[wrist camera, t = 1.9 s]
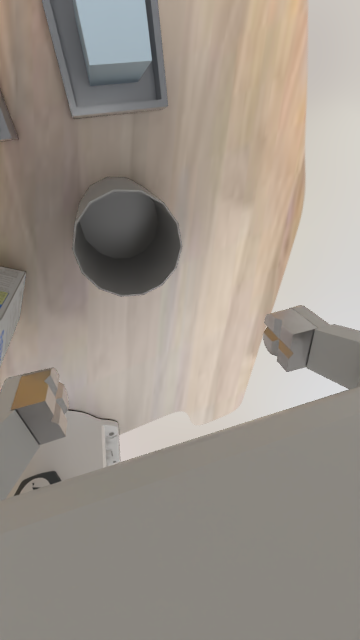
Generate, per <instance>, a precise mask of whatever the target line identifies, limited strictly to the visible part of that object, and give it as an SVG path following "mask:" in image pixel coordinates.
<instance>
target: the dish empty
mask: <svg viewBox="0 0 360 640" xmlns="http://www.w3.org/2000/svg"><path fill="white" fill-rule="evenodd" d="M9 140H18V136H17V133H16V131H15V128H14V125H13V122H12V120H11V117H10V114H9V111H8V109H7V106H6V103H5V100H4V98H3V95H2V92H1V89H0V141H9Z"/></svg>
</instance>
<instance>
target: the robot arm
mask: <svg viewBox="0 0 360 640" xmlns="http://www.w3.org/2000/svg"><path fill="white" fill-rule="evenodd" d="M264 323H265V325H266V326H267V328H266V330H265V331H264V334H263V340H264V344H265V346H266V348H267V350H268V351H269V352H270V353H271V354H272V355H275V356H277V362H278V363H279V364H280V365H281V366H282V367H283V368H284V369H285V370H286V372H289V371H293V370H296V369H300V368H304V367H307V368H308V369H310V370H312V371H314V372H316V373H318V374H320V375H322V376H324V377H326V378H328V379H330V380H332V381H334V382H336V383H338V384H340V385H342V386H344V387H346V388H348V389H349V390H346V391H343V392H340V393H337V394H334V395H330V396H327V397H324V398H321V399H318V400H315V401H312V402H308V403H305V404H302V405H299V406H296V407H293V408H290V409H286V410H283V411H280V412H277V413H274V414H271V415H268V416H264V417H261V418H258V419H255V420H252V421H249V422H245V423H243V424H239V425H236V426H233V427H230V428H227V429H223V430H220V431H217V432H215V433H211V434H208V435H205V436H201V437H198V438H195V439H192V440H189V441H186V442H183V443H180V444H176V445H173V446H170V447H167V448H164V449H161V450H158V451H155V452H151V453H148V454H145V455H142V456H139V457H136V458H132V459H129V460H127V461H123V462H120V447H119V446H120V445H119V426H118V423H117V422H116V421H112V420H102V419H98V418H95V417H93V416H91V415H88V414H85V413H82V412H76V411H68V407H69V401H68V394H67V391H66V388H65V386H64V384H62V383H60V382H59V374H58V372H57V370H56V369H55V368H49V369H44V370H40V371H35V372H31V373H27V374H23V375H18V376H14V377H10V378H8V379H6V380H5V382H4V384H3V387H2V389H1V392H0V640H360V331H358V330H354V329H350V328H347V327H343V326H339V325H335V324H333V325H330V324H328V323H327V322H326V321H324V320H322V319H321V318H320V317H319V316H317V315H316V314H315V313H313V312H312V311H310V310H309V309H308V308H306V307H305V306H302V305H299V306H296V307H293V308H289V309H286V310H283V311H278V312H274V313H270V314H267V315H266V317H265V322H264Z"/></svg>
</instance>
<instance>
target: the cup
mask: <svg viewBox="0 0 360 640" xmlns="http://www.w3.org/2000/svg"><path fill="white" fill-rule="evenodd" d="M181 249H182V242H181V236H180V230H179V224H178V222H177V221H176V219H175V218H174V216H173V215H172V214H171V212H170V211H169V209H168V208H167V206H166V205H165V204H164V202H162V201H161V200H160V199H158V198H157V197H156V196H154V195H153V194H152V193H150V192H149V191H148V190H147V189H145V188H144V187H142V186H141V185H139V184H137V183H135V182H133V181H132V180H130V179H128V178H123V177H106V178H104V179H102V180H100V181H98V182H96V183H94V184H93V185H91V186H90V187H89V188H88V190H87V191H86V193H85V194H84V196H83V198H82V199H81V201H80V203H79V207H78V212H77V216H76V220H75V224H74V236H73V248H72V250H73V253H74V255H75V258H76V260H77V263H78V265H79V268H80V270H81V272H82V274H83V275H84V276H86V277H87V278H88V279H89V280H90V281H91V282H92V283H93V284H94V285H95V286H96V287H98V288H99V289H100V290H103V291H106V292H109V293H112V294H115V295H118V296H121V297H122V296H135V295H144V294H146V293H148V292H150V291H152V290H154V289H156V288H158V287H160V286H162V285H163V284H164V283H165V281H166V280H167V279H168V278H169V277H170V275H171V274H172V273H173V272H174V270H175V269H176V268H177V264H178V260H179V257H180V253H181Z"/></svg>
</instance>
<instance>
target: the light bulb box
mask: <svg viewBox="0 0 360 640" xmlns="http://www.w3.org/2000/svg"><path fill="white" fill-rule="evenodd" d="M25 278H26V272H24V271H19V270H15V269H10V268H5V267H1V266H0V366H1V364H2V361H3V359H4V356H5V354H6V351H7V348H8V346H9V344H10V341H11V338H12V336H13V333H14V331H15V328H16V326H17V323H18V321H19V318H20V313H21V306H22V299H23V292H24V285H25Z"/></svg>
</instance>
